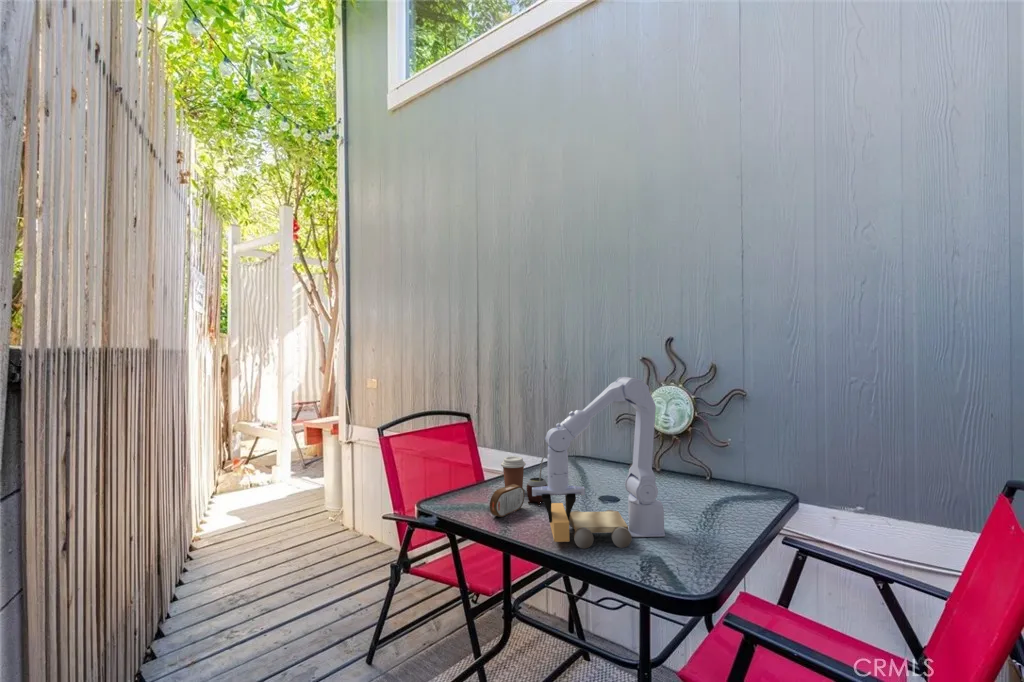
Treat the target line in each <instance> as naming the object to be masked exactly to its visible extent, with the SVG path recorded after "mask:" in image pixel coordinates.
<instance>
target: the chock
mask: <svg viewBox="0 0 1024 682" xmlns="http://www.w3.org/2000/svg"><path fill="white" fill-rule="evenodd" d="M551 514H552V523H550V522H549V524H550V530H551V534H552V538H553V542H554V543H563V542H564V543H565V542H567V543H568V542H570V525H569V520H568V517H567V515H566V508H565V506H564V503H563V502H551Z"/></svg>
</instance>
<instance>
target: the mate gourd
mask: <svg viewBox="0 0 1024 682" xmlns="http://www.w3.org/2000/svg"><path fill="white" fill-rule="evenodd" d="M544 459H545V455H542V458H541V461H540V464H539V476H538V477H531V478H529V479H528V481H527V482H526V483H527V484H526V495H527V498H528V503H537V504H538V505H541V506H542V504H543V503H542V502H543V500H542V496H541V495H536V496H532V487H542V486H548V482H547V480H545V478H543V477H542V471H543V470H542V469H543V462H544ZM540 502H541V503H540ZM537 504H536V505H537ZM538 505H537V506H538Z"/></svg>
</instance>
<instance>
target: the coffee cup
mask: <svg viewBox="0 0 1024 682" xmlns="http://www.w3.org/2000/svg"><path fill="white" fill-rule="evenodd" d="M526 464H527V463H526V461H524V459H523V457H522V456H515V455H514V456H512V455H511V456H506V457H504V458H503V461H502V462H500V466H501V467H502V471H503V479H504V480H503V481H504V487H506V486H509V485H512V484H516V485H518V486H521V487H522V488H523V487H524V473H525V472H524V469H525V466H526ZM523 489H524V488H523Z"/></svg>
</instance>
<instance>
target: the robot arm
mask: <svg viewBox="0 0 1024 682" xmlns="http://www.w3.org/2000/svg"><path fill="white" fill-rule="evenodd" d="M617 402H620V403H621V402H628V404H630V406H632V408H633V409H635V424H634V437H633V438H634V439H633V450H632V451H633V452H632V465H631V466H630V467H629V469H628V475H627V477H626V478H625V481H624V488H625V489H626V491H627V493H628V497H627V498H628V499H627V503H628V504H627V507H628V509H627V511H628V524H627V526H628V531H629V532H630V534H631V537H632V538H646V537H648V538H649V537H650V538H652V537H653V538H654V537H656V538H657V537H659V538H661V537H665V536H666V534H665V509H664V506H663V503H662V500H659V499H657V498H658V495H659V494H658V493H659V491H658V490H659V489H658V486H657V484H656V480H657V479H656V474H655V472H654V471H653V468H652V467H653V452H654V437H655V421H656V407H657V406H656V403H655V400H654V398H653V397H652V395H651V392H650V386H649V385H647V383H645V382H644V381H643V380H642V379H640V378H638V377H635V378H633V377H629V376H627V375H626V376H620V377H618V378H617V379H616V380H615V381H613V382H611V383H610V384H609V385H608V386H607V387H606V388H605V389H604V390H603V391H601V393H599V394H598V395H597V396H596V397H595V398H594V399H593V400H592V401H591V402H590V403H588V404H587V405H586V407H584V408H583V409H582V410H581V409H576V410H574V411H573V410H571V411H570V412H568V416H567V417H566V418H565V419H564V420H562V421H561V422H557V423H556V424H555V426H556V427H552V428H550V429H549V430H548V431H547V432H546V435H545V436H544V441H545V444H546V445H547V458H546V459H547V486H542V487H532V496H536V495H541V496H542V500H543V502H544V503H543V504H544V506H545V509H546V511H547V515H548V522H549V524H550V523H552V514H551V503H552V497H551V496H564V499H565V512H566V515H567V517H568V520H569V517H570V513H571V512H572V511H573V510H572V509H573V506H574V505H575V503H576V500H577V497H576V496H578V495H579V496H586V488H585V486H577V485H569V456H568V455H569V454H568V449H569V448H570V446H571V443H572V441H574V440H575V439H576V438H577V437H578V436H580V434H582V433H583V432H584V431H585V430H587V428H590V426H591V425H590V424H591V419H593V418H595V416H597V415H598V414H600V413H601V412H602V411H603V410H604V409H606V408H607V407H609V406H610V405H611V404H612V403H617Z"/></svg>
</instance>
